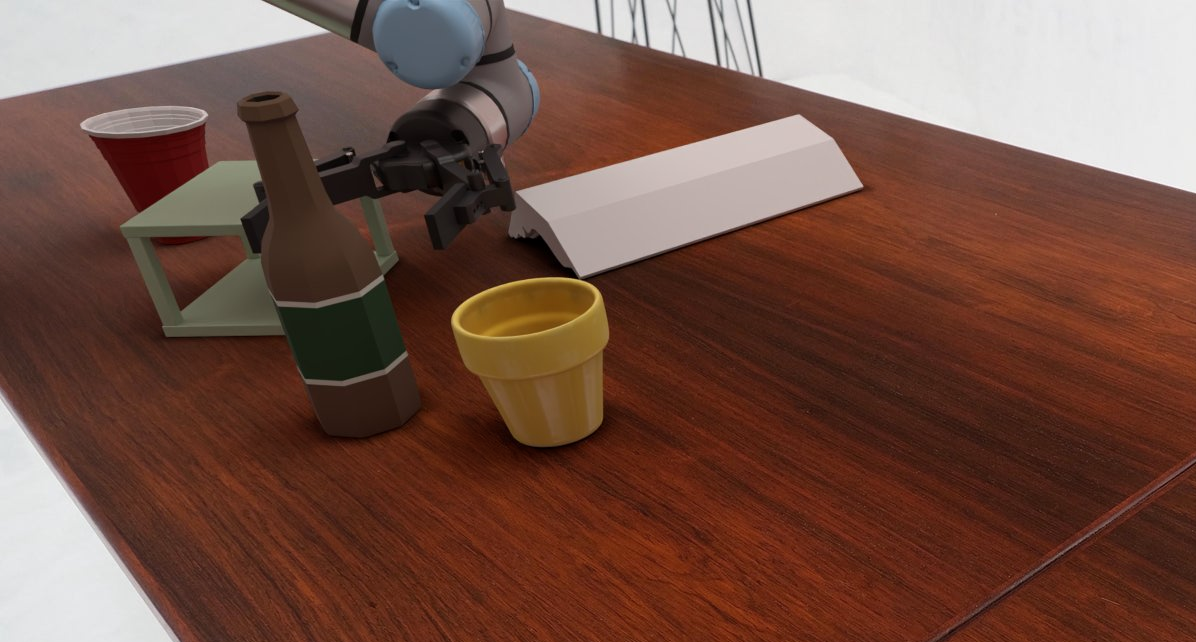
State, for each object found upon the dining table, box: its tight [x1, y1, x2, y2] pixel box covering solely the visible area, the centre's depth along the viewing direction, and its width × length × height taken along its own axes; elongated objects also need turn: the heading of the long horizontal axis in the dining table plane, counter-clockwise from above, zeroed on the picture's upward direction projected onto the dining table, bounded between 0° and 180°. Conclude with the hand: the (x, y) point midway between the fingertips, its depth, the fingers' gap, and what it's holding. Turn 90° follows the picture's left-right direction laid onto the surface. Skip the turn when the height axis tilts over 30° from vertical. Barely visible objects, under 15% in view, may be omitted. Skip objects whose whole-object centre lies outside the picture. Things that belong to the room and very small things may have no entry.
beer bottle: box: [236, 90, 422, 439], centre depth 91 cm, size 8×8×24 cm
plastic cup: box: [79, 105, 210, 245], centre depth 127 cm, size 11×11×12 cm
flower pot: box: [450, 276, 610, 448], centre depth 93 cm, size 10×10×10 cm
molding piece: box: [507, 113, 865, 281], centre depth 131 cm, size 32×12×10 cm
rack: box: [119, 158, 400, 338], centre depth 114 cm, size 14×16×10 cm
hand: (342, 234), depth 94 cm, fingers open, 13 cm apart
